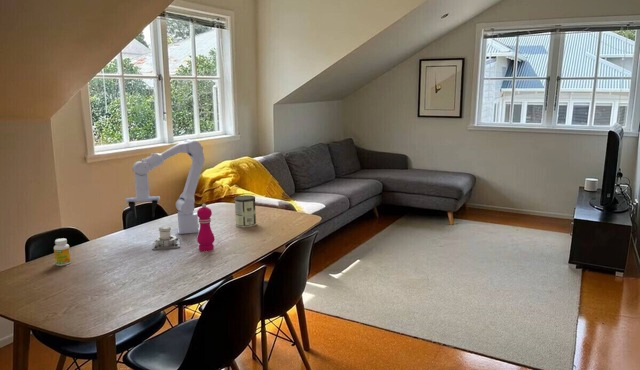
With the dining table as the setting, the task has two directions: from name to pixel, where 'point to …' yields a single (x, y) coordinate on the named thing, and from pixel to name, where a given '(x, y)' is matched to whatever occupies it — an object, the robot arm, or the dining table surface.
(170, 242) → the flange
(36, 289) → the dining table surface
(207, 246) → the pepper mill
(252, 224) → the coffee can
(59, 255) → the supplement bottle
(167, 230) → the white knob
